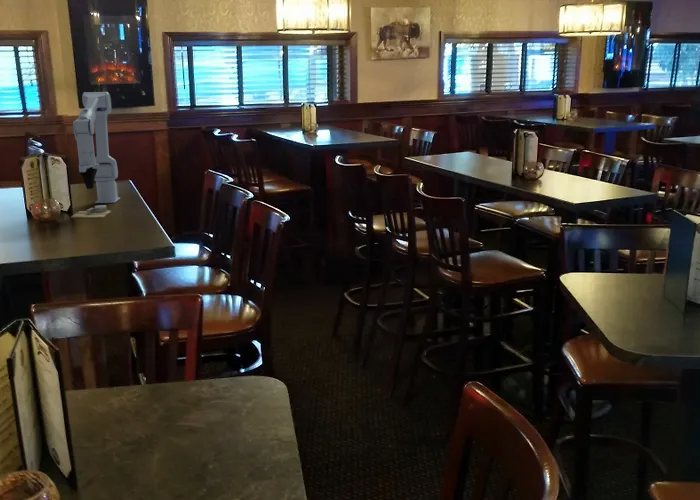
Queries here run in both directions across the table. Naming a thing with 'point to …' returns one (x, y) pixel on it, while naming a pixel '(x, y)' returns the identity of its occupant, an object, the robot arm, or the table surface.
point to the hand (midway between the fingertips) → (90, 188)
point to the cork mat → (95, 215)
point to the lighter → (97, 209)
